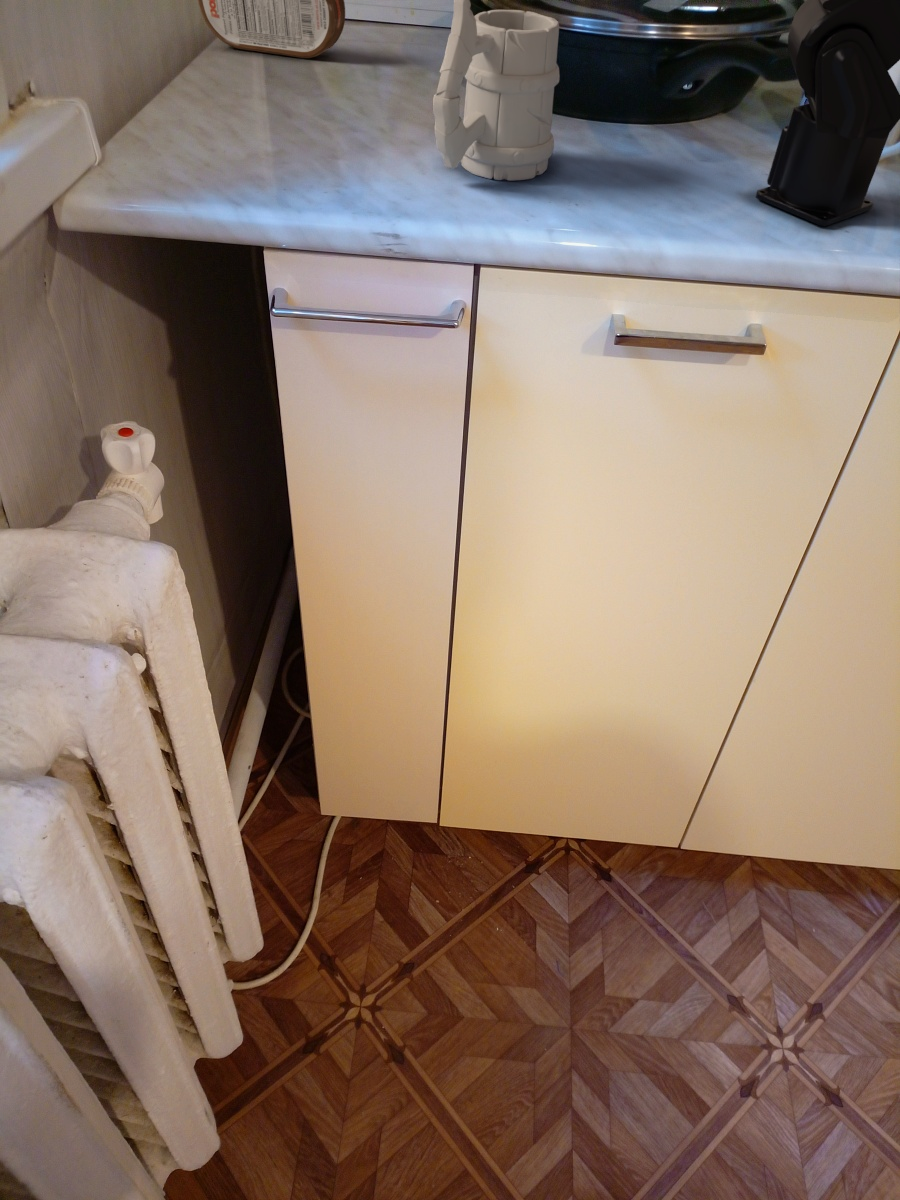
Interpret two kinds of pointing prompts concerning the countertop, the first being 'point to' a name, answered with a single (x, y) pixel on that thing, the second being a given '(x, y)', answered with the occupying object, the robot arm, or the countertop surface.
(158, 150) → the countertop surface
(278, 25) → the tin
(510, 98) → the mug
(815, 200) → the robot arm
